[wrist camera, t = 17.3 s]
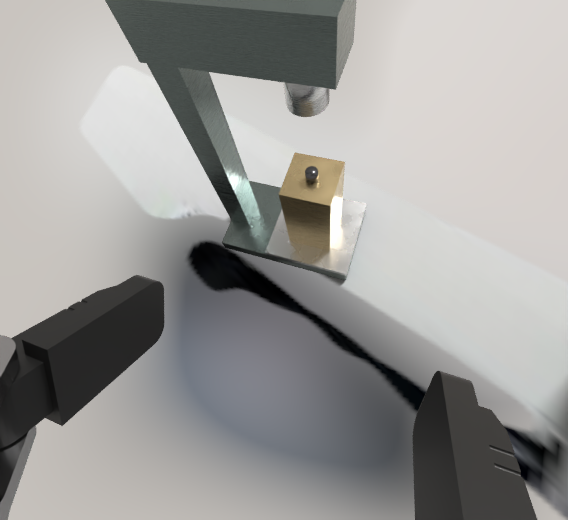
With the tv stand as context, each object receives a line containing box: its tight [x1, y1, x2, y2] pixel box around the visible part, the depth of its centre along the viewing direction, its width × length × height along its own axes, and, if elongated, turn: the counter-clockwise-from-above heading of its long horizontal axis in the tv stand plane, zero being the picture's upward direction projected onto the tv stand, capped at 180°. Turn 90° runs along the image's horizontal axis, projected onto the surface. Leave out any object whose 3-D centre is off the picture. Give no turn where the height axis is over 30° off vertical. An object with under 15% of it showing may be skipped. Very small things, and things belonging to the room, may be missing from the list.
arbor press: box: [105, 0, 367, 280], centre depth 31 cm, size 16×13×28 cm
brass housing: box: [279, 153, 345, 251], centre depth 36 cm, size 5×5×11 cm
